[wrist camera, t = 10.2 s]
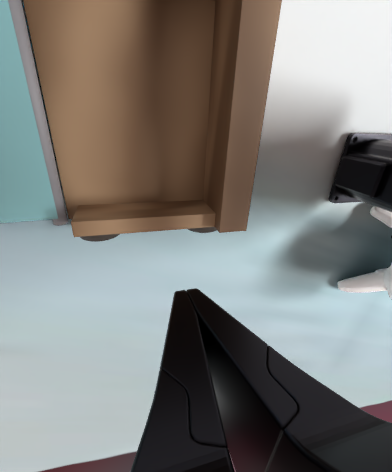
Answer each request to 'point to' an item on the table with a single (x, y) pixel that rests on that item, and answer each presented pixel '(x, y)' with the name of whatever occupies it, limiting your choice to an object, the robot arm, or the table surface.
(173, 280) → the table surface
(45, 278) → the table surface
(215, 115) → the truck bed
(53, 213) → the panel
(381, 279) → the cherub figurine
